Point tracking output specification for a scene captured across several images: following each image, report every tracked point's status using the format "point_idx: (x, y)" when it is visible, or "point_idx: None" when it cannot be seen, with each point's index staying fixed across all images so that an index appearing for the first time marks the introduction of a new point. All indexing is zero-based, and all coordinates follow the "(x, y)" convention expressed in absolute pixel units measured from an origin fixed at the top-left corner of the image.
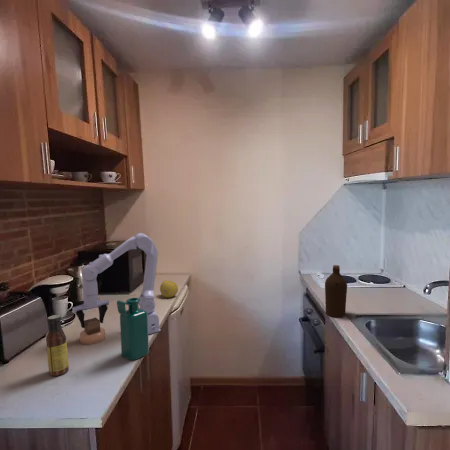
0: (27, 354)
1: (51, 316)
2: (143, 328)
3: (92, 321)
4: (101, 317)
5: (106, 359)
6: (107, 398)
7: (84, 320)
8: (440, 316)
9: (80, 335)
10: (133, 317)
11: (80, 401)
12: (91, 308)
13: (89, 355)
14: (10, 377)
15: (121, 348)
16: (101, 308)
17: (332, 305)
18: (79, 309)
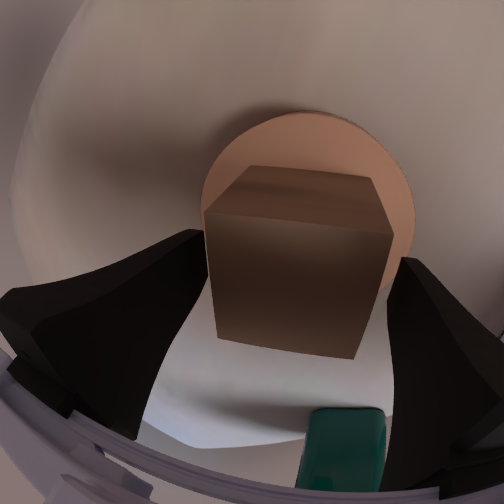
0: (28, 156)
1: None
2: None
3: (282, 326)
4: (397, 355)
5: (262, 397)
6: (210, 445)
7: (211, 219)
8: None
9: (201, 219)
10: None
11: (172, 427)
12: (239, 483)
13: (222, 347)
14: (35, 276)
15: (306, 436)
16: (397, 481)
17: None
18: (46, 423)
